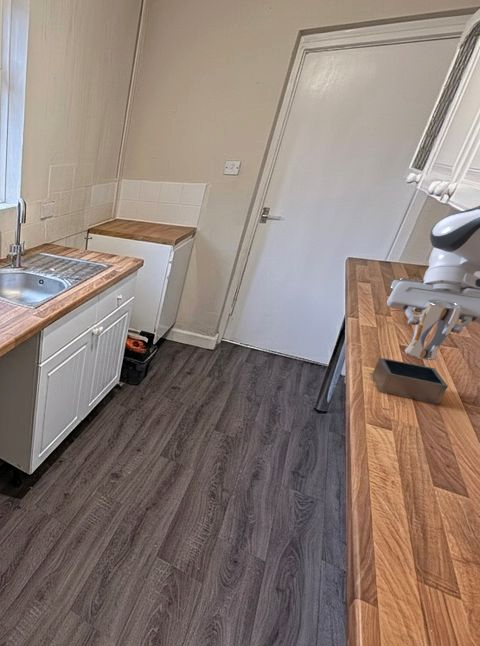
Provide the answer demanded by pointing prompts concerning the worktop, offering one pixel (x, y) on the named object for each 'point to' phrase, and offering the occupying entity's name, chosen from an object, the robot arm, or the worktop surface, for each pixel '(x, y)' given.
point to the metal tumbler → (433, 329)
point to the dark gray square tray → (409, 380)
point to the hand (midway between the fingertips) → (434, 327)
